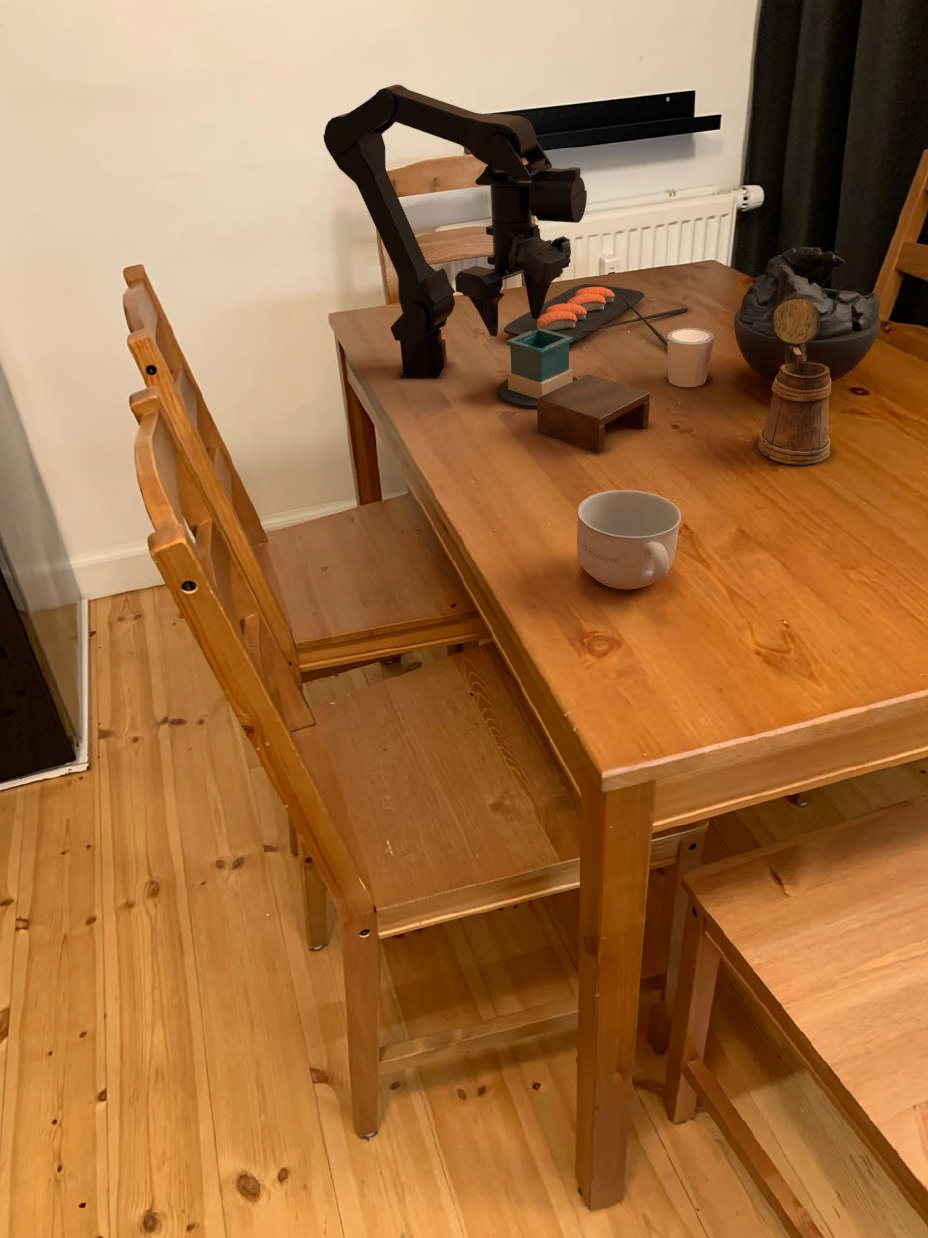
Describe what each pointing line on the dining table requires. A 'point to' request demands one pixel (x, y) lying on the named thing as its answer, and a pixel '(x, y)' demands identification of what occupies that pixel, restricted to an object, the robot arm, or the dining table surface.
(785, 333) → the wooden mug
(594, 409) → the stand
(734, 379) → the dining table surface
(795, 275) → the coal bowl
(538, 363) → the teal rimmed box
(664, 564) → the teacup
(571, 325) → the sushi plate
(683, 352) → the white cup
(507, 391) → the mat
